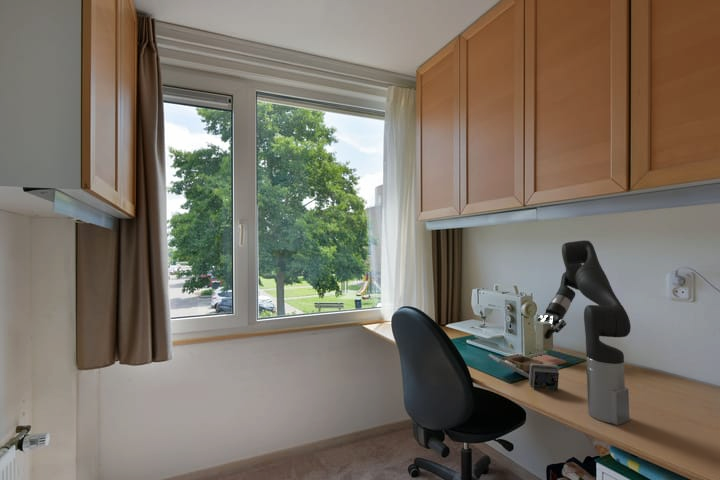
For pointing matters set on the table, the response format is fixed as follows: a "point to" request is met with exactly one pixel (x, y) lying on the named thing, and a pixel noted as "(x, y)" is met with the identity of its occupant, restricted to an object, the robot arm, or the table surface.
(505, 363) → the light switch
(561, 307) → the robot arm
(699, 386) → the table surface
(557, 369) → the electrical switch
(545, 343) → the skincare box
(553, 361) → the terracotta mat
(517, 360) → the frame
